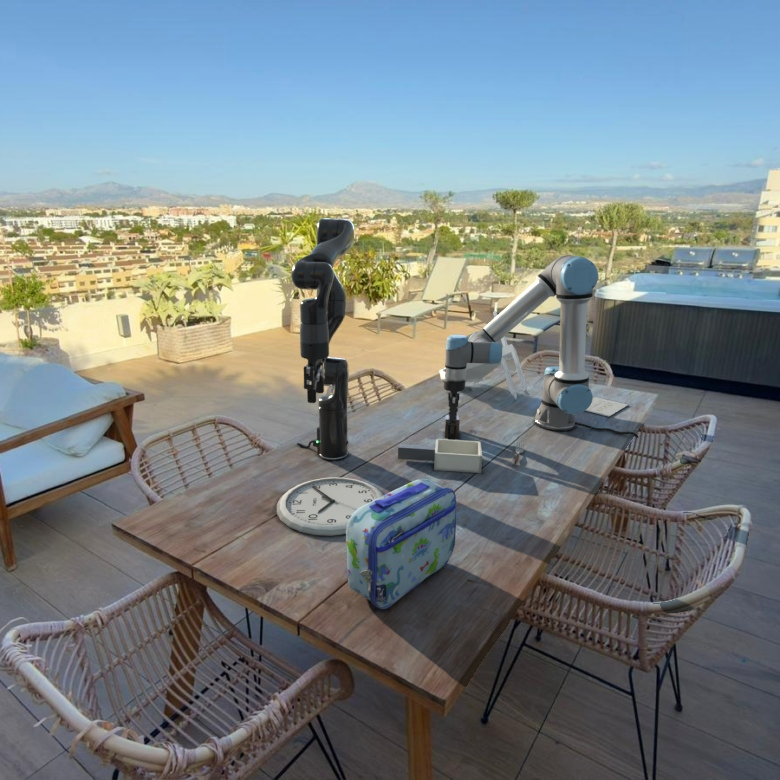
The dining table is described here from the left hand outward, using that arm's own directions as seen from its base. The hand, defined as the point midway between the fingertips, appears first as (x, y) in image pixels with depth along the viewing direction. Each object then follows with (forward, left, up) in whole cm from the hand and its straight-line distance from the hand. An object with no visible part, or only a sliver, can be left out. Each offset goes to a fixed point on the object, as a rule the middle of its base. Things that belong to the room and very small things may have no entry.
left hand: (316, 397), depth 143 cm
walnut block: (+15, +59, -28) cm, 67 cm away
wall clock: (+9, -5, -28) cm, 30 cm away
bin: (+21, +36, -28) cm, 50 cm away
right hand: (+15, +59, -28) cm, 67 cm away
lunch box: (+41, -22, -28) cm, 54 cm away
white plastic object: (+4, +115, -28) cm, 118 cm away
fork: (+42, +54, -28) cm, 74 cm away
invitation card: (+56, +125, -28) cm, 140 cm away
